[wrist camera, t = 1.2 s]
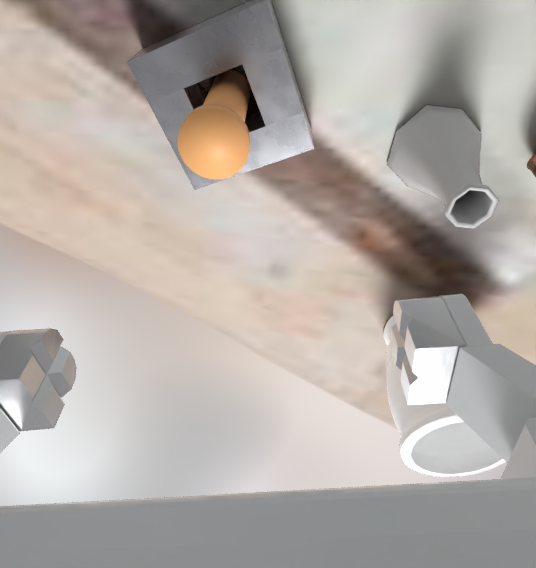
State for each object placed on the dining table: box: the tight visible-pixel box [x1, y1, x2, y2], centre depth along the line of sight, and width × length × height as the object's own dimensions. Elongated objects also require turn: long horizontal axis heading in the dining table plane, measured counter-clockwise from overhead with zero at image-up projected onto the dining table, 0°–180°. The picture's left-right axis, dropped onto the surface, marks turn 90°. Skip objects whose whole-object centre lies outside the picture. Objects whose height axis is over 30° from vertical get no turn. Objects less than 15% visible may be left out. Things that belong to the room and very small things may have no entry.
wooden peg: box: [177, 70, 250, 179], centre depth 30 cm, size 4×4×11 cm
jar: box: [384, 315, 506, 477], centre depth 44 cm, size 11×10×15 cm
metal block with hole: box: [127, 0, 314, 190], centre depth 32 cm, size 10×10×4 cm
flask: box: [387, 105, 499, 229], centre depth 33 cm, size 7×7×10 cm
